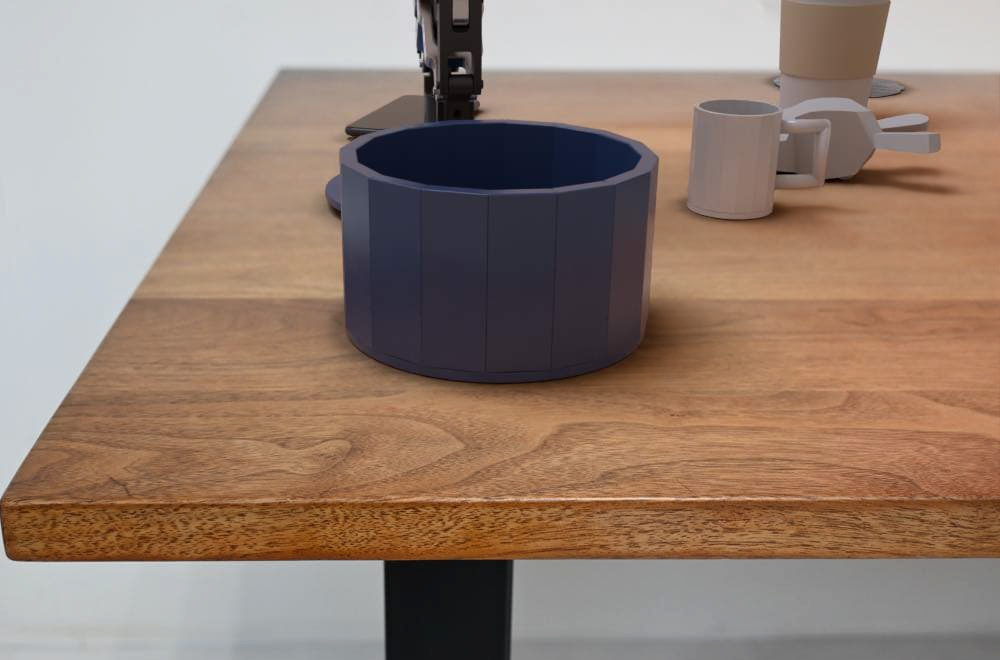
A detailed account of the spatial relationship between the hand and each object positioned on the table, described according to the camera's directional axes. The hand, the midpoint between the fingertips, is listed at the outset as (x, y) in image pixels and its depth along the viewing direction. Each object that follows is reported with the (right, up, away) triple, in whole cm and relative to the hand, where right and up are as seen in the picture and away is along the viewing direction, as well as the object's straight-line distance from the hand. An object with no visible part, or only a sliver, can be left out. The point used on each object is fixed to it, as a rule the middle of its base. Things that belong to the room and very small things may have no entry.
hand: (447, 145), depth 80 cm
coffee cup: (+31, +6, +25) cm, 41 cm away
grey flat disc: (+37, +13, +41) cm, 57 cm away
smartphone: (-3, +6, +23) cm, 24 cm away
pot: (+3, -12, -19) cm, 22 cm away
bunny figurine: (+26, -1, +9) cm, 28 cm away
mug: (+20, -4, +1) cm, 20 cm away
